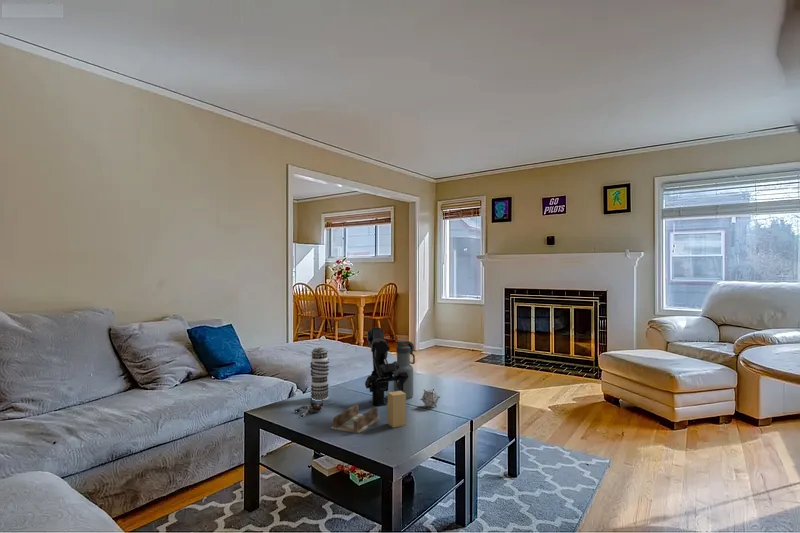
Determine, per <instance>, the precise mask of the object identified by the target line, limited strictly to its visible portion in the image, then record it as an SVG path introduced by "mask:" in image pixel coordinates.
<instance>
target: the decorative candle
mask: <svg viewBox="0 0 800 533" xmlns="http://www.w3.org/2000/svg"><path fill="white" fill-rule="evenodd" d="M329 360H330V359H329V358H328V350H327V349H326V348H325V347H316V348H313V349H312V350H311V362H310V366H309V367H310V376H311V385H310V387H311V388H310V390H311V392H310V398H313V399H315V400H323V399H327V398H328V399H329V396H330V394H329V384H328V383H329V381H328V375H329V372H328V371H329V365H328V364H329V363H330V361H329ZM328 399H327V400H328Z"/></svg>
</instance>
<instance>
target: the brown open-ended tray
mask: <svg viewBox="0 0 800 533" xmlns="http://www.w3.org/2000/svg"><path fill="white" fill-rule="evenodd" d="M378 411H379V410H378V407H377V406H375V407H372V408H371V409H369V410H368V411H367V412H365V413H364V414H361V413H359V404H354V405H352V406H350V407H349V408H347V409H345V410H343V411H342V412H340V413H338V414H337V415H335V416H334V417H333V418H332V425H333V426H331V427H330V429H331V428H332V430H336V429H337V431H342V430H343V431H342V432H349V433H355V434H361V433H362V432H364V431H365V430H366V429H368V428H369V427H370V426H372V425H373V424H374V423H376V422H377V421H379V420H380V416H379V415H378V413H379V412H378Z"/></svg>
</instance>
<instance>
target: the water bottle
mask: <svg viewBox="0 0 800 533" xmlns="http://www.w3.org/2000/svg"><path fill="white" fill-rule="evenodd" d="M414 350H415V345H414V343H413V342H411V341H410V340H409V341H408V340H405V339H403V340H397V341H396V361H398V363H399V369H396V371H394V374H393V376H397V374H398V373H399V372H407V373H408V376H409V377H408V378H407V380H406V382H405V383H404V385H403V392H404V393H406V400H408V399H412V398H413V397H414V367H413V365H414V364H415V362H416V358H415V357H416V356H415V353H414ZM411 356H412V361H411ZM395 391H399V389H398V387H397V383H396V381H393V392H395Z"/></svg>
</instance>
